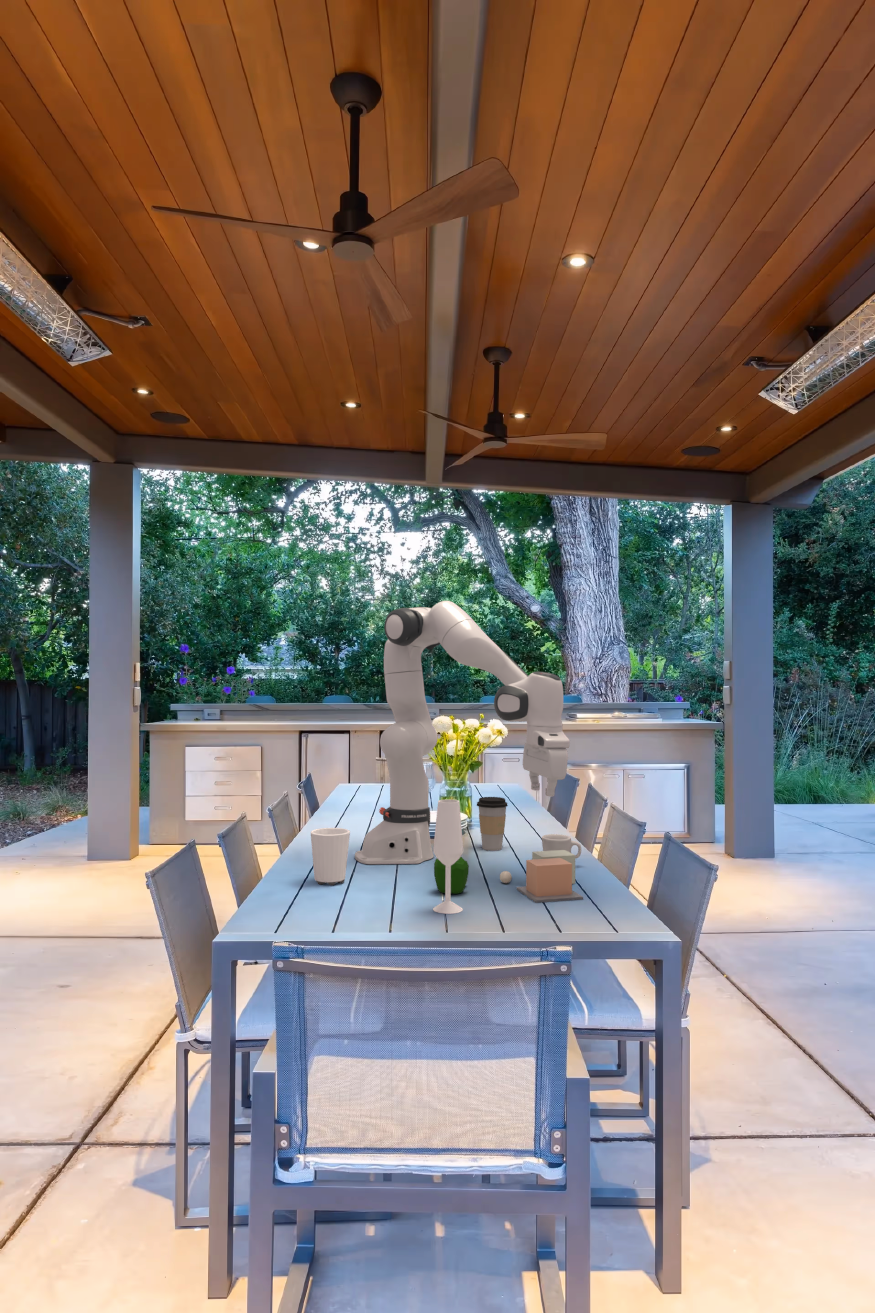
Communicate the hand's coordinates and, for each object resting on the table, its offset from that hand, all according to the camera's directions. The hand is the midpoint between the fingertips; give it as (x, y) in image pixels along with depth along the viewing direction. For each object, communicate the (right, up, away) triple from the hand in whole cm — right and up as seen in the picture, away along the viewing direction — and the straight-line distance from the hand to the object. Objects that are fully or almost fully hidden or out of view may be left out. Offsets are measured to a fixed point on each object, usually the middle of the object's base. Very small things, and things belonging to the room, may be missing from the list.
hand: (542, 793), depth 202 cm
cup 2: (+8, -24, +21) cm, 33 cm away
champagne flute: (-24, -23, -21) cm, 39 cm away
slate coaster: (+1, -23, -8) cm, 24 cm away
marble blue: (-19, -23, -1) cm, 29 cm away
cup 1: (-53, -23, +2) cm, 58 cm away
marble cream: (-7, -21, +2) cm, 23 cm away
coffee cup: (-10, -24, +43) cm, 50 cm away
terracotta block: (+1, -22, -8) cm, 24 cm away
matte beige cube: (+3, -23, +4) cm, 24 cm away
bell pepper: (-23, -23, -6) cm, 33 cm away
